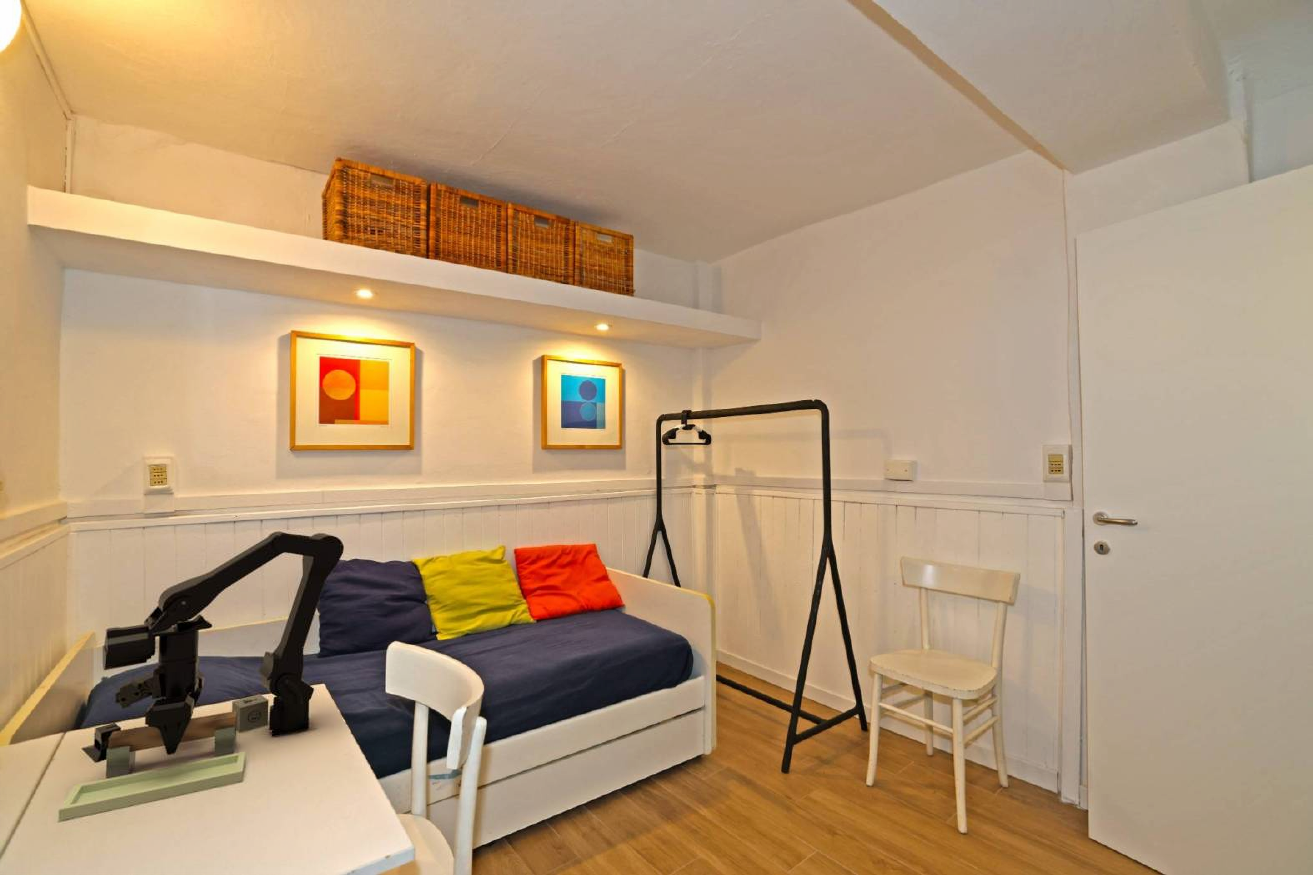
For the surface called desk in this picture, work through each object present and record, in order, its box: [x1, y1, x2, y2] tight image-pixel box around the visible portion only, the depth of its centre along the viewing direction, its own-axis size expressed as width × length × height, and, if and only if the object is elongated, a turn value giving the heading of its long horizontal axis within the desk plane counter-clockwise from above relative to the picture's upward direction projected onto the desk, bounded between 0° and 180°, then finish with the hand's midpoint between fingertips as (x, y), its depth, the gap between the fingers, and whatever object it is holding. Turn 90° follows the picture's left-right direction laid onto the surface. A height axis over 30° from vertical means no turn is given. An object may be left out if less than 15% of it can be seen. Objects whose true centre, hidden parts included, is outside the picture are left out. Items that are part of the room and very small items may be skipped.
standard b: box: [105, 744, 137, 779], centre depth 107 cm, size 3×5×5 cm, turn 31°
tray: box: [58, 751, 247, 822], centre depth 102 cm, size 23×8×2 cm, turn 121°
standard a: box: [213, 719, 238, 758], centre depth 115 cm, size 3×5×5 cm, turn 31°
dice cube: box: [231, 694, 270, 734], centre depth 126 cm, size 5×5×5 cm
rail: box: [108, 711, 237, 752], centre depth 111 cm, size 18×3×3 cm, turn 121°
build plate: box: [81, 722, 122, 764], centre depth 115 cm, size 12×7×5 cm, turn 55°
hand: (175, 743), depth 111 cm, fingers open, 9 cm apart
